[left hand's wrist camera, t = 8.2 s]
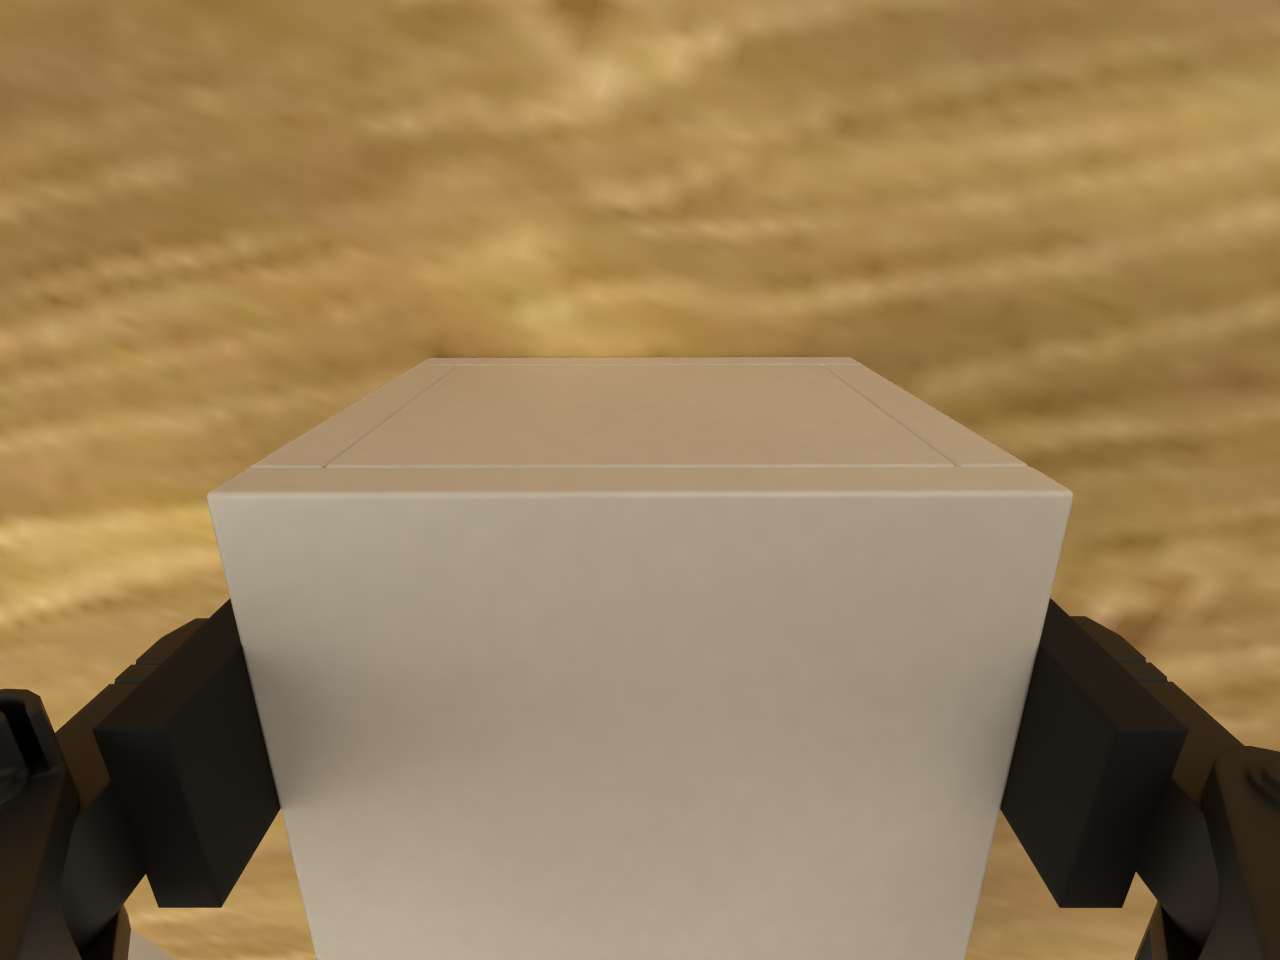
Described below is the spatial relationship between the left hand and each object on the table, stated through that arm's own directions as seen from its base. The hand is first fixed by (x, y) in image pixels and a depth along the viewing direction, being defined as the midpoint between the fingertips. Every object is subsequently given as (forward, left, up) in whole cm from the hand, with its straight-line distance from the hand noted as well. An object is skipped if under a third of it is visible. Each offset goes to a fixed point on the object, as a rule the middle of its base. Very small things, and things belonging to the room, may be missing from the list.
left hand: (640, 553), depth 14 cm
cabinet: (+6, -3, -4) cm, 8 cm away
